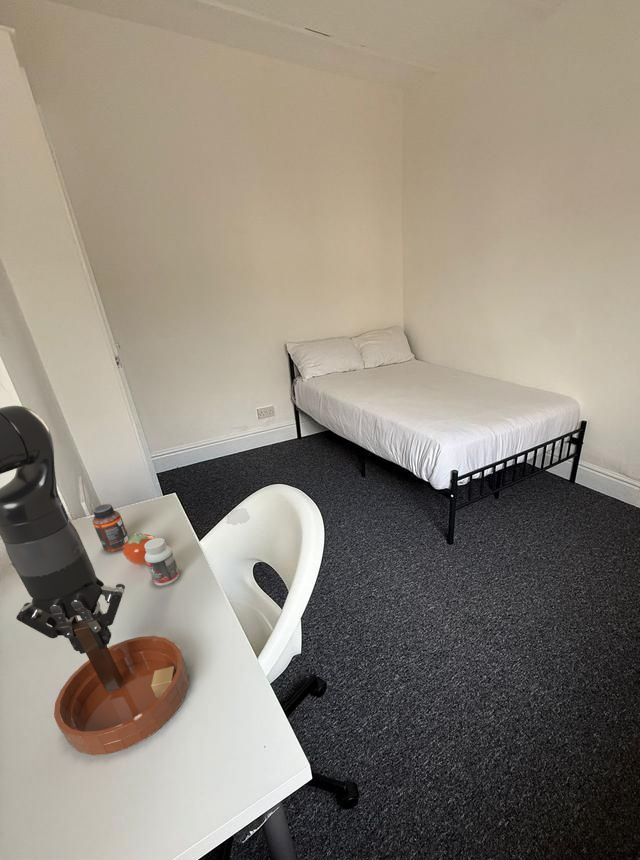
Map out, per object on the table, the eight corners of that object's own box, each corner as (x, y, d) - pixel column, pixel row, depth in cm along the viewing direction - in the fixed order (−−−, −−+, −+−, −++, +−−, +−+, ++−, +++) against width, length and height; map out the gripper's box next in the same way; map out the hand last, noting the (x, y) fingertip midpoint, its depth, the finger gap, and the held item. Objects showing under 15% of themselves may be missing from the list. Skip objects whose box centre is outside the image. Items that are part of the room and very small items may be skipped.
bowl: (48, 774, 57) (33, 753, 55) (87, 671, 72) (76, 651, 70) (183, 734, 62) (174, 713, 59) (194, 645, 77) (187, 625, 74)
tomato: (131, 554, 102) (121, 527, 98) (164, 548, 104) (155, 521, 100) (124, 573, 96) (113, 545, 92) (159, 566, 98) (149, 538, 94)
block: (156, 698, 67) (150, 686, 65) (159, 682, 69) (154, 670, 68) (176, 693, 67) (171, 680, 66) (178, 677, 70) (174, 665, 68)
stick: (106, 692, 67) (73, 630, 60) (109, 681, 68) (77, 620, 62) (119, 688, 67) (89, 627, 61) (122, 678, 69) (93, 617, 62)
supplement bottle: (136, 542, 107) (121, 504, 102) (114, 555, 102) (98, 516, 97) (120, 537, 109) (106, 499, 104) (98, 549, 104) (82, 511, 99)
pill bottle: (148, 586, 92) (134, 550, 87) (162, 570, 96) (149, 535, 92) (171, 586, 91) (159, 550, 87) (184, 570, 96) (173, 535, 91)
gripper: (115, 531, 61) (149, 618, 69) (3, 550, 57) (52, 640, 65) (100, 562, 54) (140, 654, 62) (-27, 585, 51) (32, 680, 59)
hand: (95, 646), depth 64 cm, fingers closed on stick, 2 cm apart
